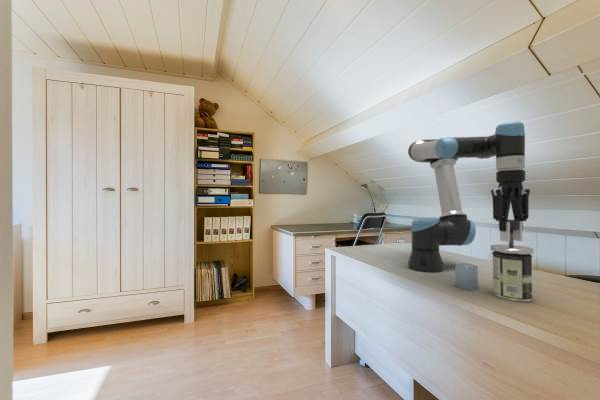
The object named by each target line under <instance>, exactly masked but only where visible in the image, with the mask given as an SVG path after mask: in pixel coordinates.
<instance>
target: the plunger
mask: <svg viewBox="0 0 600 400" xmlns="http://www.w3.org/2000/svg"><path fill="white" fill-rule="evenodd" d="M507 222H510V242H508V244H498V243H497V244H492V245H490V250H491V251H492V252H494V251H496V252H501V253H509V254H530V255H532V254H534V248H532V247H529V246H524V245H518V244H517V245H516V244H514V241H515V240H514V239H513V230H520V220H514V219H508V220H507Z"/></svg>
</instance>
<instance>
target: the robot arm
mask: <svg viewBox="0 0 600 400" xmlns="http://www.w3.org/2000/svg"><path fill="white" fill-rule="evenodd" d="M525 131H526V130H525V124H524V123H523V122H521V121H508V122H503V123H500V124H498V125H497V126H496V127H495V132H494V134H493V135H492V134H491V135H488V136H487V135H486V136H467V137H466V136H461V137H459V136H458V137H457V136H454V137H452V136H449V137H448V136H447V137H441V138H438V139H437V138H436V139H433V138H432V139H419V140H416V141H413V142H412V143H411V144H410V145H409V147H408V150H407V153H408V156H409V158H410V159H411V160H413V161H414V162H417V163H429V164H430V165H429V166H430V168H431V169H433V170H434V175H435V181H436V187H437V192H438V193H437V194H438V199H439V206H440V211H441V215H440V216H439V217H436V216H435V217H432V216H431V217H422V218H417V219H414V220H413V221H412V222H411V228H410V231H411V252H410V255H409V258H408V261H407V267H408V268H409V269H411V270H413V271H417V272H423V273H425V272H426V273H437V272H442V271H444V270H445V264H444V263H443V260H442V256H441V253H440V246H458V247H461V246H469V245H471V244H472V243H473V242H474V241H475V238H476V234H477V229H476V228H477V227H476V224H475V223H474V221H473V220H472V219H468V215H467V214H466V213H464V211H463V207H462V203H461V199H460V194H459V188H458V183H457V177H456V171H455V167H454V166H455V165H456V163H457V162H458V160H459V159H462V158H463V159H464V158H465V159H466V158H467V159H469V158H472V159H473V158H475V159H481V160H482V159H490V158H493V157H495V170H496V173H495V176H496V177H495V179H496V180H495V182H496V183H498V186H497V188H496V189H495V188H494V189H491V190H490V192H491V196H492V217H493V218H492V219H493V220H495V221H496V222H498V231H499V241H501V242H505V243H506V242H507V243H509V242H510V222H507V220H509V214H510V209H511V211H512V214H513V216H512V217H513V220H520V230H513V239H514V241H518V242H522V241H523V230H524V224H523V223H524V222H526V221H527V219H529V211H530V210H529V209H530V208H529V200H530V199H529V196H530V192H531V190H530V189H529V188H524V186H523V182H525V181H526V171H525V170H524V169H525V168H526V162H525V161H526V159H525V157H526V156H525V155H526V154H525V152H526V147H525V146H526V133H525ZM510 206H511V208H510Z"/></svg>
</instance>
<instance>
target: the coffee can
mask: <svg viewBox="0 0 600 400" xmlns="http://www.w3.org/2000/svg"><path fill="white" fill-rule="evenodd" d="M491 252H492V253H491V254H492V275H493V276H492V278H493V279H492V280H493V282H492V284H493V285H492V286H493V291H492V293H493V295H495V297H498V298H500V299H501V298H502V299H503V300H508V301H513V302H520V303H521V302H522V303H523V302H527V303H528V302H531V301H533V279H532V278H533V275H532V273H533V272H532V271H533V270H532V268H533V266H532V264H533V263H532V258H533V255H532V254H509V253H501V252H496V251H491Z"/></svg>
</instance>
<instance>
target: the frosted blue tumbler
mask: <svg viewBox="0 0 600 400" xmlns="http://www.w3.org/2000/svg"><path fill="white" fill-rule="evenodd" d="M478 269H479V268H478V265H476V264H471V263H466V262H459V263H455V264H454V273H455V277H454V279H455V280H454V283H455V287H456V288H457V289H459V290H464V291H470V292H471V291H474V292H475V291H478V290H479V270H478Z"/></svg>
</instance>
